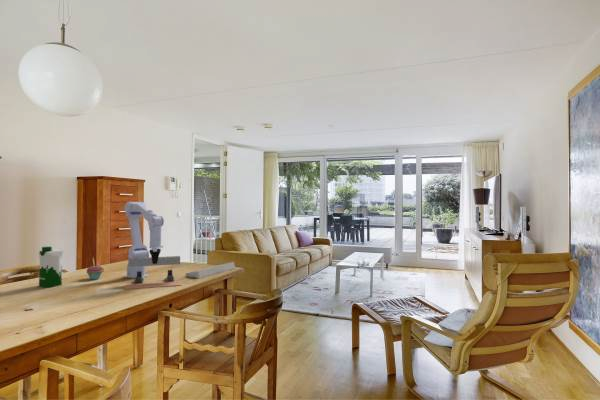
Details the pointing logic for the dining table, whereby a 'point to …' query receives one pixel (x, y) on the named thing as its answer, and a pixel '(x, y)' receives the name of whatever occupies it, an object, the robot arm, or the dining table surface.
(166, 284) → the mat
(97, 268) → the cupcake
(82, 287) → the dining table surface
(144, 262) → the rail
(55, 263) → the milk carton
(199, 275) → the decorative molding
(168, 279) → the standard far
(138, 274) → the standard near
